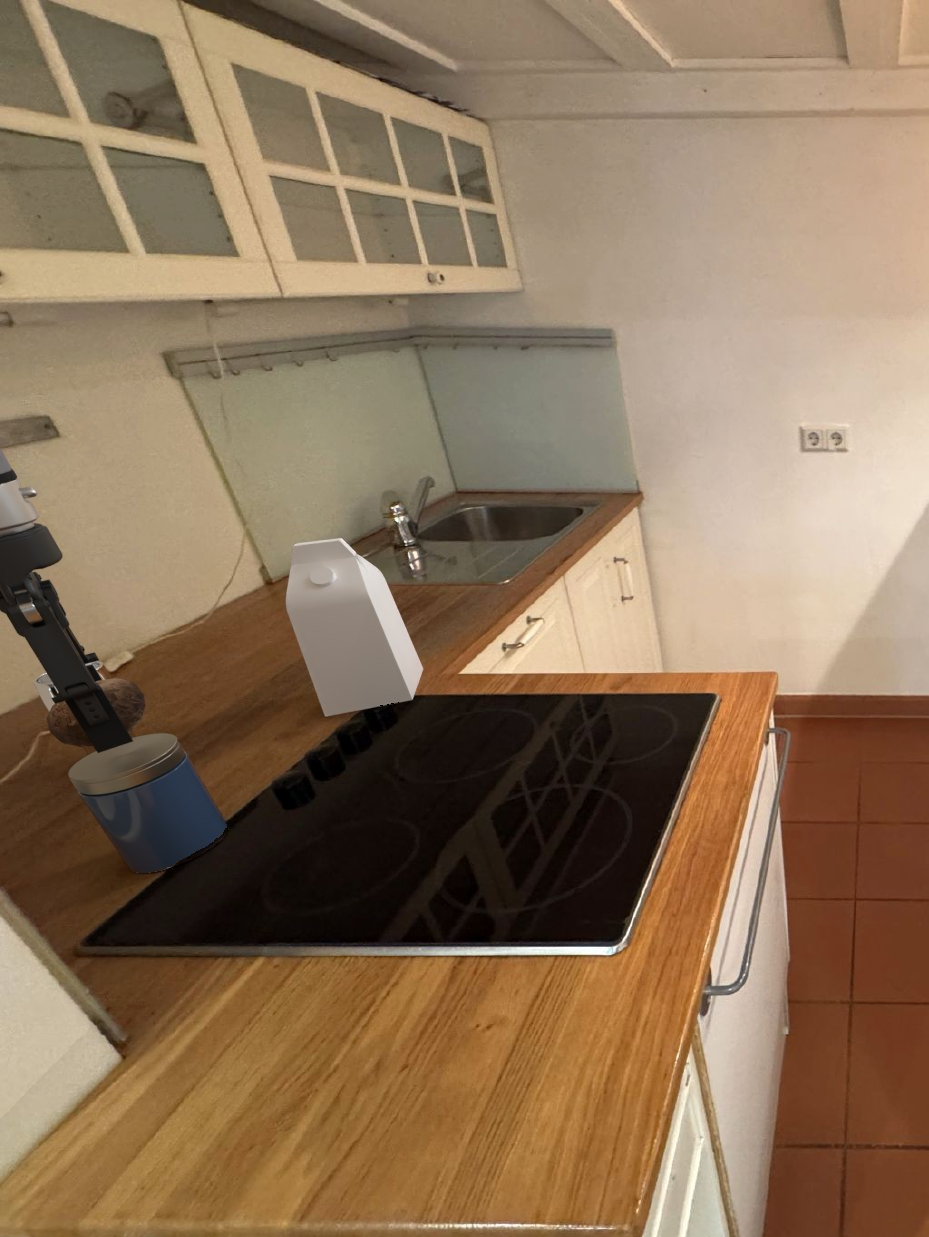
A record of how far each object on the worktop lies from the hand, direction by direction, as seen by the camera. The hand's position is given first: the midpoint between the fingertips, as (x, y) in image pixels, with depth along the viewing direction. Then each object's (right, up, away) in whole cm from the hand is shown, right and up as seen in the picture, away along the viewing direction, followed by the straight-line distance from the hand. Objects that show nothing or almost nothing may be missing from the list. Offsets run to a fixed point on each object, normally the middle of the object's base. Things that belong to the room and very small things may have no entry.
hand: (110, 732), depth 76 cm
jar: (0, -15, +7) cm, 16 cm away
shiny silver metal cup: (-23, -8, +23) cm, 33 cm away
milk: (+1, +1, +40) cm, 40 cm away
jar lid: (0, -3, +2) cm, 4 cm away
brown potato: (0, 0, 0) cm, 0 cm away
